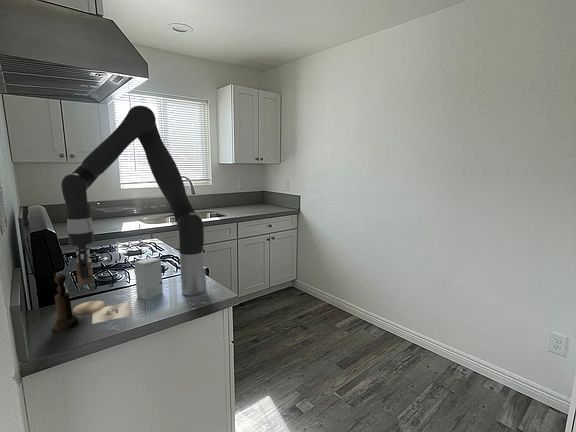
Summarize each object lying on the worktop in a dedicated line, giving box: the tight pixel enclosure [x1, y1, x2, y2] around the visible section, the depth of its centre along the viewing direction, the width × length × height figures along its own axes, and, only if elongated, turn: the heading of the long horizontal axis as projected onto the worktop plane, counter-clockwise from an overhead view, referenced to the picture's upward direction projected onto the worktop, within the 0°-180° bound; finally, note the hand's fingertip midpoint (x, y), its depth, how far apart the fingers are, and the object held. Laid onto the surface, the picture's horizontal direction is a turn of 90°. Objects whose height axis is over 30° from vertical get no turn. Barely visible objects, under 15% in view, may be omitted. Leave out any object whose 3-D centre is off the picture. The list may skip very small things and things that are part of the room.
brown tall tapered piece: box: [53, 273, 79, 332], centre depth 104 cm, size 7×6×18 cm
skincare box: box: [133, 257, 164, 301], centre depth 129 cm, size 8×6×15 cm
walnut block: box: [75, 258, 94, 286], centre depth 116 cm, size 4×4×8 cm
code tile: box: [91, 301, 133, 325], centre depth 115 cm, size 12×12×1 cm
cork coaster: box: [72, 300, 106, 315], centre depth 119 cm, size 10×10×1 cm
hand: (85, 276), depth 116 cm, fingers closed on walnut block, 4 cm apart
